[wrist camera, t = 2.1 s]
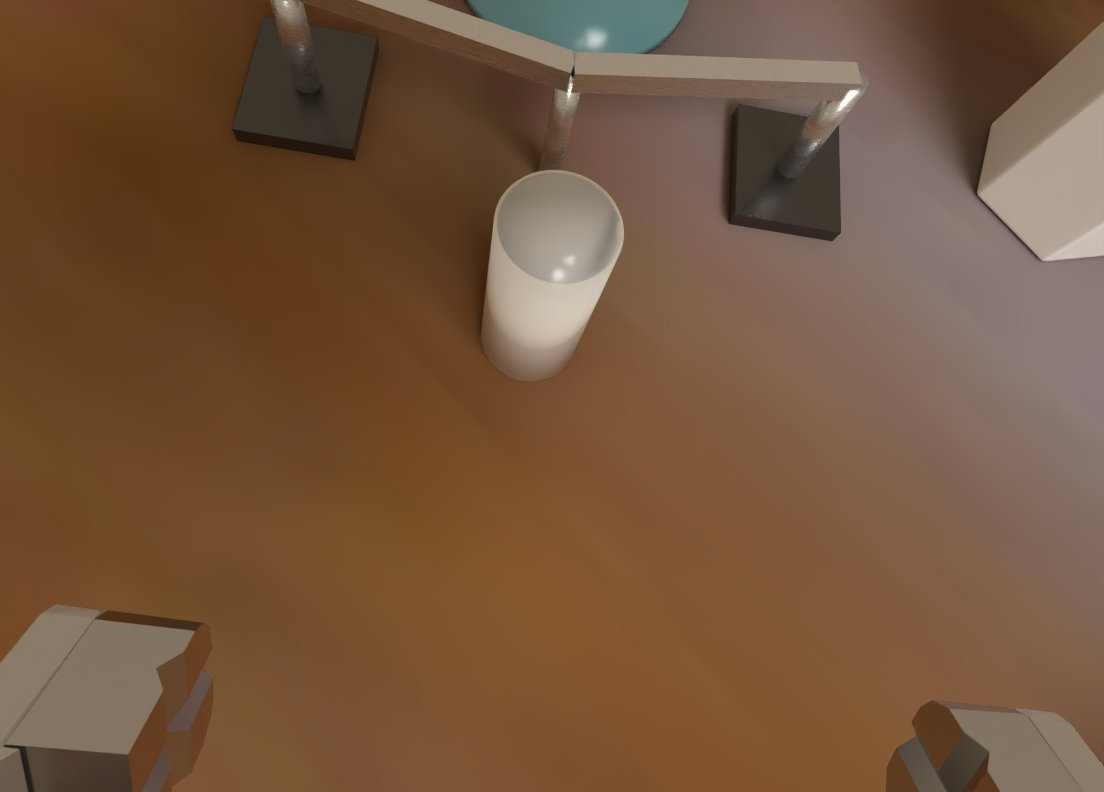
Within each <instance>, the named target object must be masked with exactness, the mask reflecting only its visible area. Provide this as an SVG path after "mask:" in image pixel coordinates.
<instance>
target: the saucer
mask: <svg viewBox="0 0 1104 792" xmlns="http://www.w3.org/2000/svg"><path fill="white" fill-rule="evenodd" d="M465 2H466V4H467V5H468V7H469V8H470V10H471V11H472V13H473V14H474V15H475V16H476V17H477V18H480V19H483V20H486V21H489V22H491V23H494V24H497V25H500V26H503V27H506V28H509V29H512V30H515V31H518V32H521V33H523V34H526V35H529V36H532V37H535V38H538V39H541V40H544V41H547V42H550V43H553V44H556V45H558V46H561V47H564V48H567V49H570V50H573V51H579V52H605V53H630V54H647V53H649V52H651V51H652V50H654V49H656V48H657V47H658V46H659V45H661V44H662V43H663V42H664V41H666V39H667V38H668V37H669V36H670V35H671V34H672V33H673V32H674V30H675V29H676V27H677V26H678V24H679V23H680V21H681V19H682V17H683V14H684V12H685V10H686V7H687V5H688V2H689V0H465Z"/></svg>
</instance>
